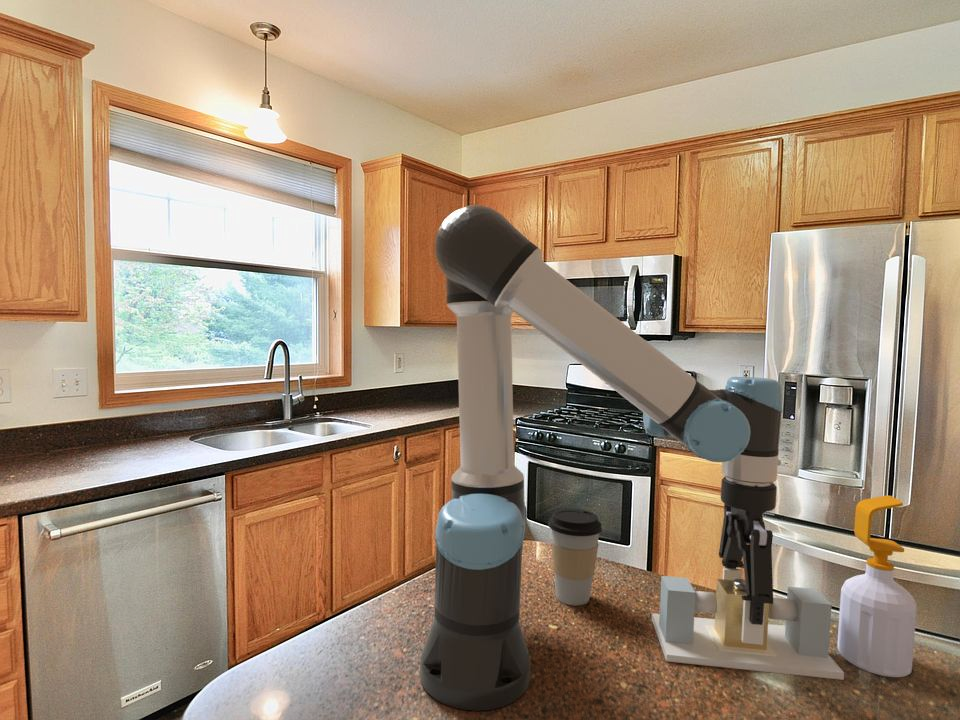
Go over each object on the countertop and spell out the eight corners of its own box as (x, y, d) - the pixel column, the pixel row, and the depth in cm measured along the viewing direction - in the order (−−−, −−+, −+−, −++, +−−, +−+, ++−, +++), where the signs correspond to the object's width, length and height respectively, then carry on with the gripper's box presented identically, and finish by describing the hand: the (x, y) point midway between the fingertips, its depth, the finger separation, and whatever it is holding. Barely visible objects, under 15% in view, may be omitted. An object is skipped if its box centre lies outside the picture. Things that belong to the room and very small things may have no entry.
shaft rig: (666, 661, 80) (669, 600, 80) (651, 619, 92) (654, 566, 92) (843, 679, 77) (848, 617, 77) (805, 633, 89) (808, 579, 89)
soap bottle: (925, 683, 77) (938, 510, 76) (853, 673, 79) (864, 504, 78) (891, 648, 86) (903, 492, 85) (827, 639, 88) (837, 486, 86)
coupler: (766, 649, 82) (769, 592, 82) (724, 645, 83) (727, 588, 82) (754, 631, 87) (757, 577, 87) (714, 628, 88) (717, 573, 87)
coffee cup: (606, 595, 100) (610, 513, 100) (587, 616, 92) (590, 528, 92) (558, 581, 105) (561, 503, 105) (536, 600, 98) (539, 517, 97)
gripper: (808, 503, 72) (797, 670, 73) (749, 464, 94) (742, 593, 95) (747, 499, 73) (738, 664, 74) (703, 461, 95) (696, 589, 96)
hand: (740, 624), depth 85 cm, fingers open, 9 cm apart
